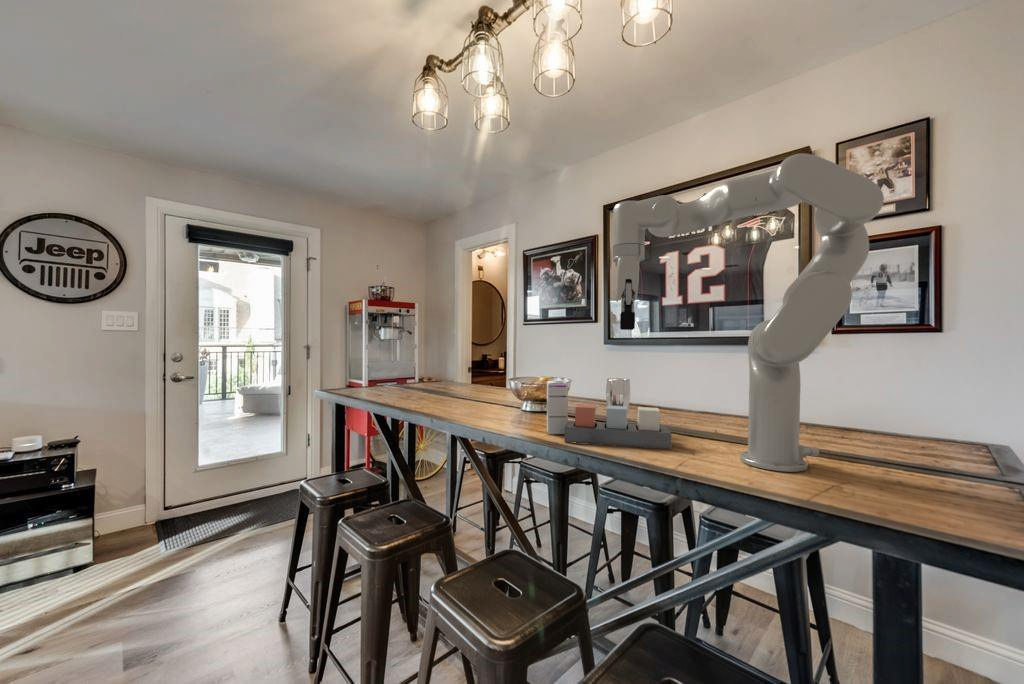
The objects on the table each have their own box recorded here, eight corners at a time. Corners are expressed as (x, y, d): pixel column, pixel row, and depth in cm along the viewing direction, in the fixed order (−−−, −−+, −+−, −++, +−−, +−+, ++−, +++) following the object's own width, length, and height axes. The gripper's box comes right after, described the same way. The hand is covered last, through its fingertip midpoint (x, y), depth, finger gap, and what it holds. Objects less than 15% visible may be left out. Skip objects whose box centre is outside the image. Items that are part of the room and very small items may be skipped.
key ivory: (637, 425, 113) (637, 406, 113) (657, 427, 112) (657, 407, 112) (638, 429, 108) (639, 410, 108) (659, 431, 107) (659, 411, 107)
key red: (576, 422, 116) (576, 404, 116) (595, 423, 115) (595, 404, 115) (575, 426, 111) (575, 406, 111) (594, 427, 110) (594, 407, 110)
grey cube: (606, 424, 115) (606, 405, 115) (625, 425, 113) (626, 406, 113) (606, 427, 110) (606, 408, 110) (626, 429, 109) (626, 409, 108)
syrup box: (568, 434, 119) (569, 382, 119) (547, 434, 119) (547, 382, 119) (566, 430, 125) (566, 380, 124) (545, 430, 125) (546, 380, 125)
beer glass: (632, 433, 122) (633, 380, 122) (607, 432, 122) (608, 380, 122) (626, 427, 129) (627, 378, 129) (603, 427, 129) (604, 378, 129)
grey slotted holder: (567, 434, 119) (568, 420, 119) (666, 441, 113) (666, 426, 113) (564, 442, 110) (564, 427, 110) (671, 449, 104) (671, 433, 104)
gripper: (612, 261, 113) (611, 330, 113) (612, 247, 96) (611, 328, 96) (642, 260, 111) (640, 330, 111) (647, 246, 94) (646, 328, 95)
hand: (627, 328), depth 104 cm, fingers open, 5 cm apart
